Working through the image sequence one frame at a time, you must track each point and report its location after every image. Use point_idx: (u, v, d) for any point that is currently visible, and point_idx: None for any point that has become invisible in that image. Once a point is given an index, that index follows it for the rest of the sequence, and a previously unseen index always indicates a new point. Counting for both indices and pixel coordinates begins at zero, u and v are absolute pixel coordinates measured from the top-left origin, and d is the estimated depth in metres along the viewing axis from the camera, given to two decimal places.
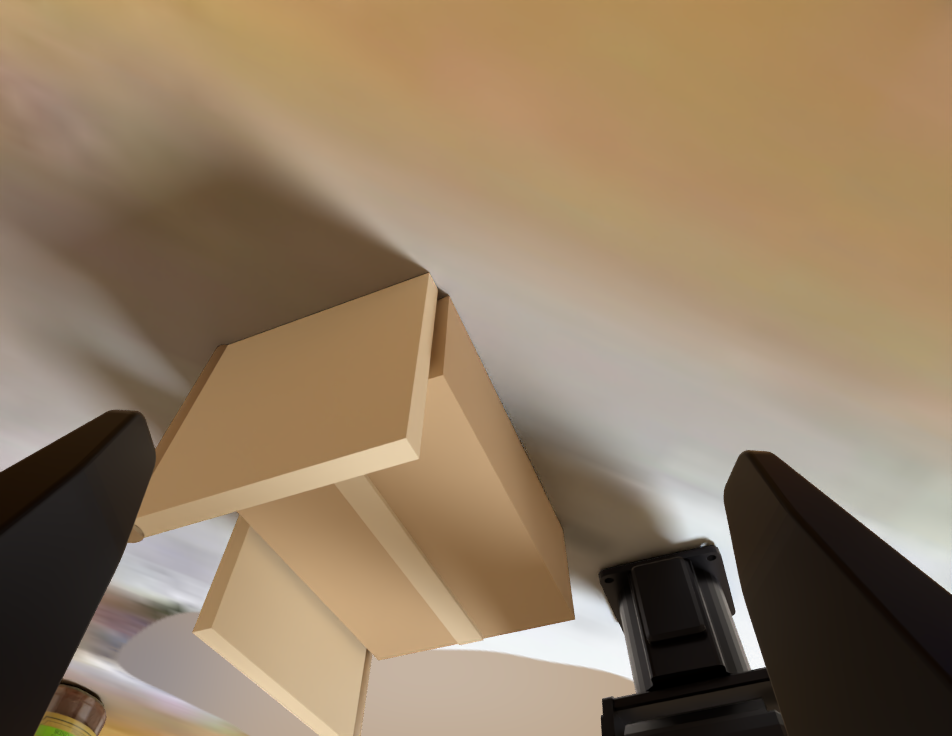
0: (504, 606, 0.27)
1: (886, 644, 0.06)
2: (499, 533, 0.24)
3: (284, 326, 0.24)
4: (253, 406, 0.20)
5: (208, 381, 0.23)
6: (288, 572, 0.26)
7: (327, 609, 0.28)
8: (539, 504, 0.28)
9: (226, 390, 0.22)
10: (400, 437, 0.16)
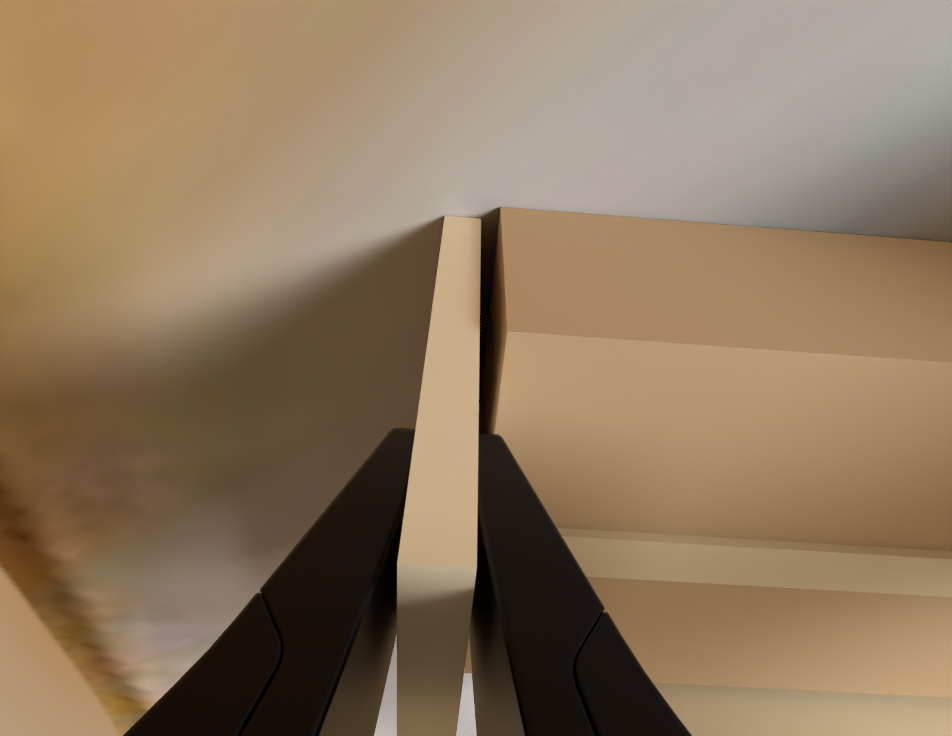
0: None
1: (496, 624, 0.06)
2: None
3: None
4: None
5: None
6: (751, 690, 0.16)
7: None
8: None
9: None
10: None
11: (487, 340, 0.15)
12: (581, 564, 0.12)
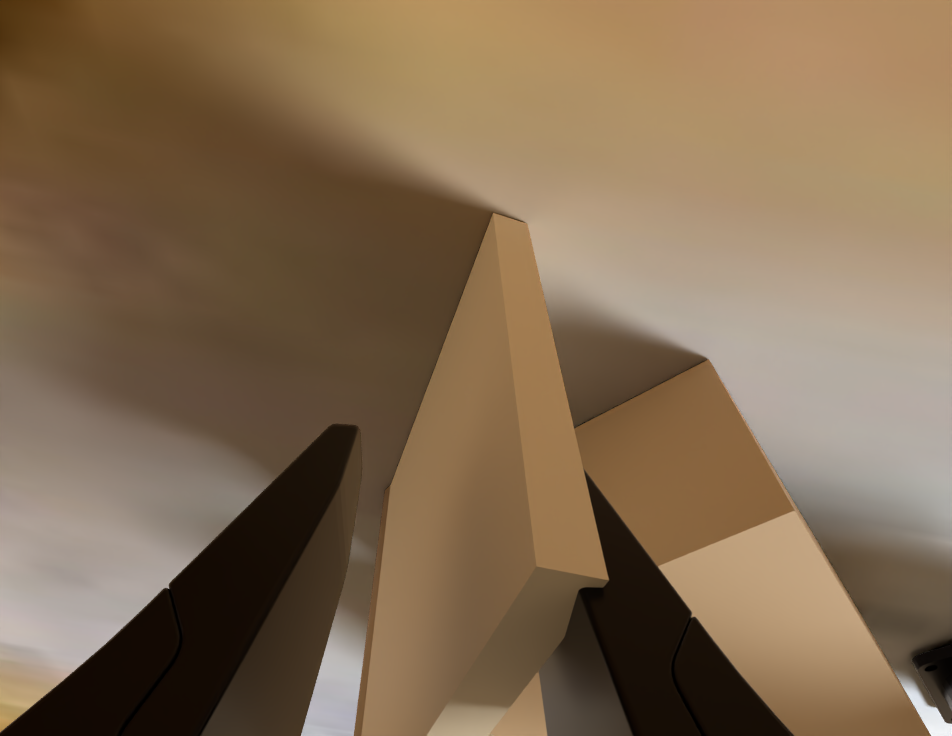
0: None
1: (584, 628, 0.06)
2: (851, 689, 0.16)
3: (414, 423, 0.17)
4: (405, 577, 0.12)
5: (382, 552, 0.16)
6: None
7: None
8: None
9: (391, 559, 0.15)
10: (530, 567, 0.06)
11: (600, 424, 0.17)
12: None
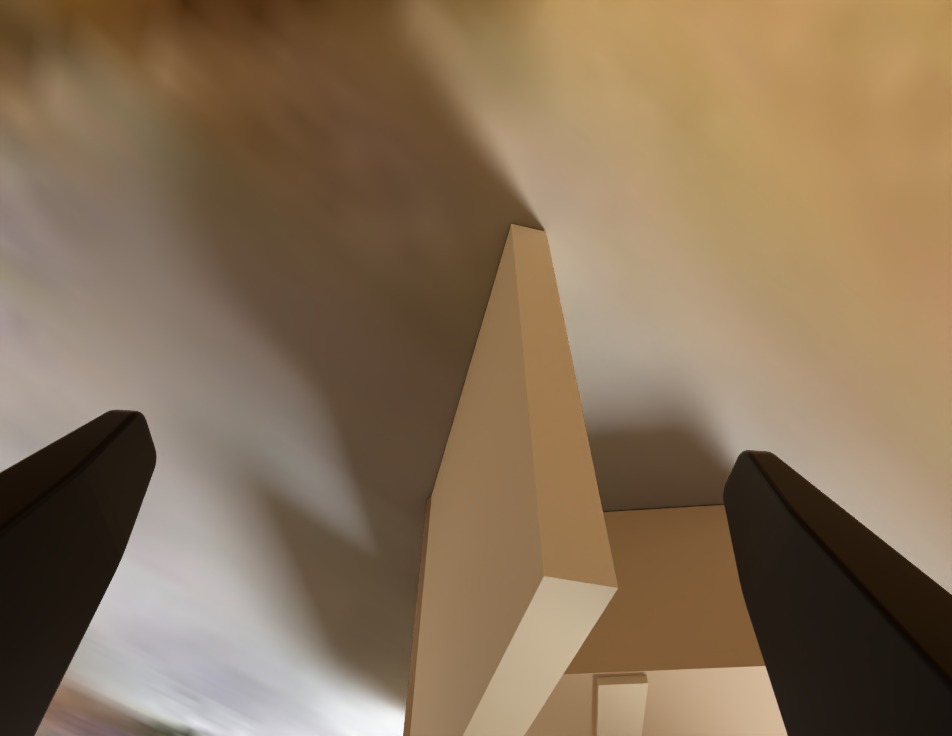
0: None
1: (885, 644, 0.06)
2: None
3: (450, 434, 0.17)
4: (443, 586, 0.13)
5: (425, 561, 0.17)
6: None
7: None
8: None
9: (431, 568, 0.15)
10: (540, 576, 0.06)
11: (652, 518, 0.19)
12: (612, 720, 0.16)
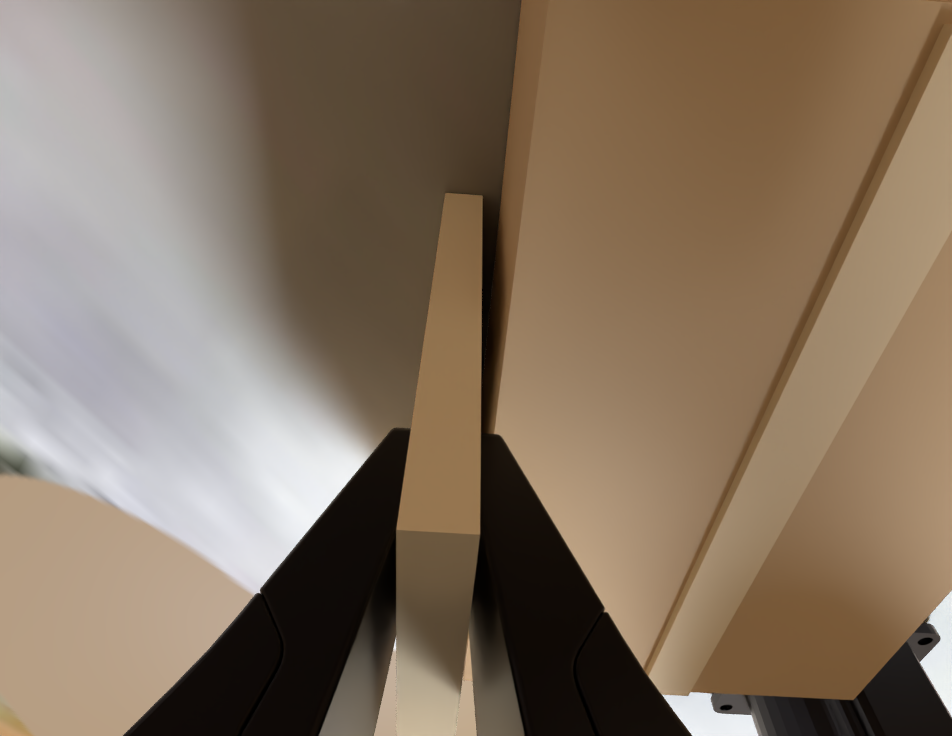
0: (783, 650, 0.14)
1: (496, 623, 0.06)
2: None
3: None
4: None
5: None
6: None
7: None
8: None
9: None
10: None
11: None
12: (907, 193, 0.08)
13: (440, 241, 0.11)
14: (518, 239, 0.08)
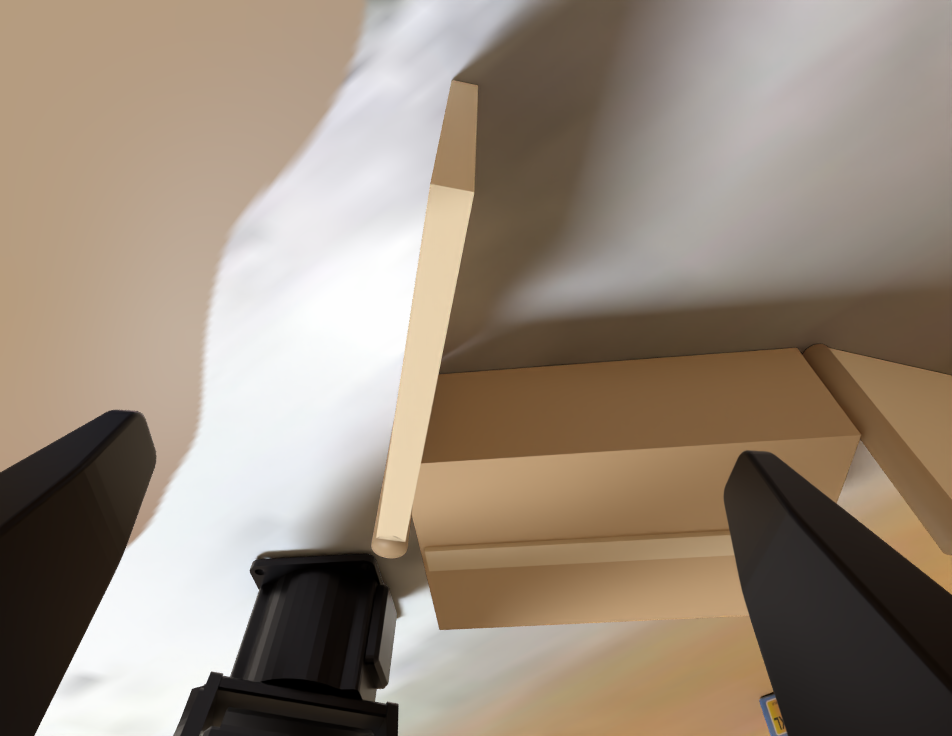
0: (482, 591, 0.25)
1: (886, 644, 0.06)
2: (602, 607, 0.25)
3: (893, 364, 0.24)
4: None
5: (863, 387, 0.22)
6: None
7: None
8: None
9: (910, 413, 0.21)
10: None
11: None
12: None
13: (449, 99, 0.16)
14: (759, 440, 0.20)
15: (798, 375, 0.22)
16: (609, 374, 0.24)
